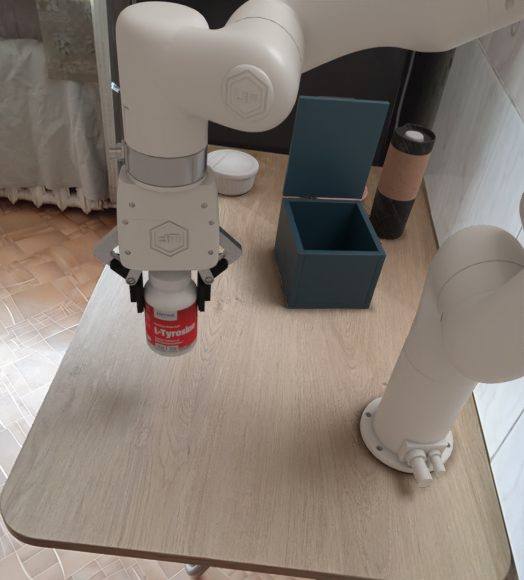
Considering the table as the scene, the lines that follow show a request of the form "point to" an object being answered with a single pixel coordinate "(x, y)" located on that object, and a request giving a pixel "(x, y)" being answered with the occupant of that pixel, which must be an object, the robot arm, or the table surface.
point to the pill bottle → (170, 312)
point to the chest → (327, 253)
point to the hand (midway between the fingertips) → (171, 303)
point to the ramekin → (233, 171)
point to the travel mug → (401, 179)
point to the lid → (333, 146)
